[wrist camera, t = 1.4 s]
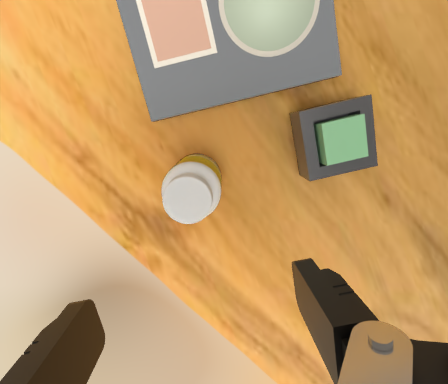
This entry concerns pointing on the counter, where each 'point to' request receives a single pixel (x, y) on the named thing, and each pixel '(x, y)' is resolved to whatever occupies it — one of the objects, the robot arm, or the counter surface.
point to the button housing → (307, 140)
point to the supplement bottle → (192, 189)
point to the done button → (341, 139)
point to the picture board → (227, 49)
